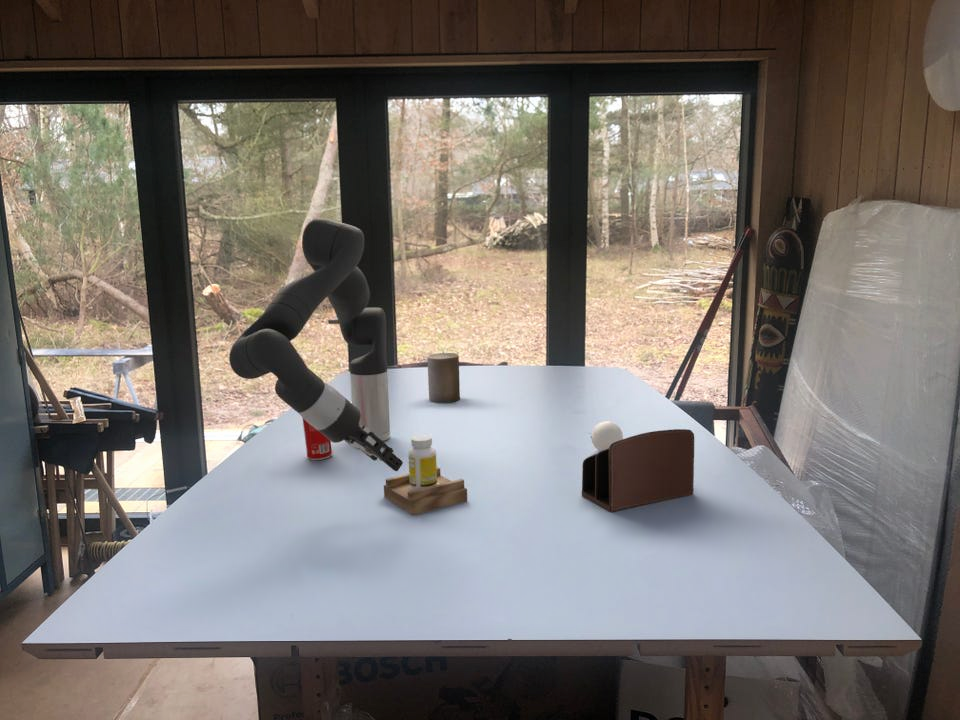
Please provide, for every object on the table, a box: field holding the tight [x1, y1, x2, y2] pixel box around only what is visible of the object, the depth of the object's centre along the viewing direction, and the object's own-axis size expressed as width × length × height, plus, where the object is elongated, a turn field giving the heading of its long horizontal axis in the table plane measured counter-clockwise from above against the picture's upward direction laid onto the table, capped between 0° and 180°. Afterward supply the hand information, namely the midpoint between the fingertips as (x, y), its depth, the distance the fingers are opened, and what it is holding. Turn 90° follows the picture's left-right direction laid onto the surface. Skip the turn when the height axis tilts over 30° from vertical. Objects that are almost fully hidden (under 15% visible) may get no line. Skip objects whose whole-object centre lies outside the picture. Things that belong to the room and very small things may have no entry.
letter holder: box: [581, 428, 695, 513], centre depth 148 cm, size 10×20×14 cm, turn 116°
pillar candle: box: [426, 351, 461, 404], centre depth 232 cm, size 10×10×15 cm
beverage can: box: [301, 417, 333, 461], centre depth 177 cm, size 6×6×15 cm
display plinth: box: [383, 466, 468, 516], centre depth 149 cm, size 12×12×4 cm
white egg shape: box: [589, 420, 624, 452], centre depth 177 cm, size 10×7×7 cm
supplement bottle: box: [407, 434, 438, 490], centre depth 148 cm, size 5×5×10 cm
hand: (388, 461), depth 143 cm, fingers open, 8 cm apart
